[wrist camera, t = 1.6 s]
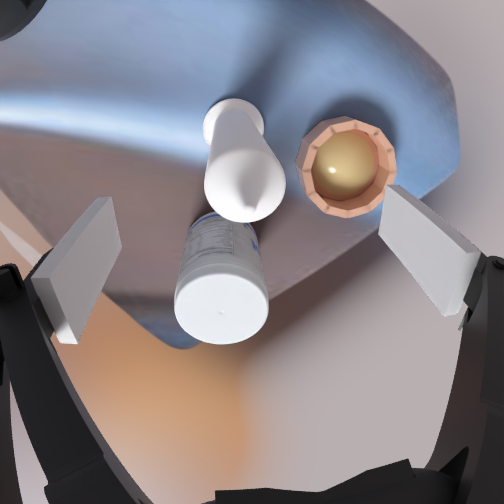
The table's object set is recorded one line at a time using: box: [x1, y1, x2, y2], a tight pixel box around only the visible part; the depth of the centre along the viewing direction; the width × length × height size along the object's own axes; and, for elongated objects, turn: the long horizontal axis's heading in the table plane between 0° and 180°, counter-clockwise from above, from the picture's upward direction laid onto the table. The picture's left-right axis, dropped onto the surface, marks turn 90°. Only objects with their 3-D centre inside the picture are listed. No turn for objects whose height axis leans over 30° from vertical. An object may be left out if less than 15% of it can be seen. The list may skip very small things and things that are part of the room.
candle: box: [203, 98, 286, 223], centre depth 25 cm, size 7×7×25 cm
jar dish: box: [295, 116, 397, 218], centre depth 38 cm, size 12×12×4 cm
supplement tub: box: [174, 212, 268, 344], centre depth 37 cm, size 10×10×15 cm
